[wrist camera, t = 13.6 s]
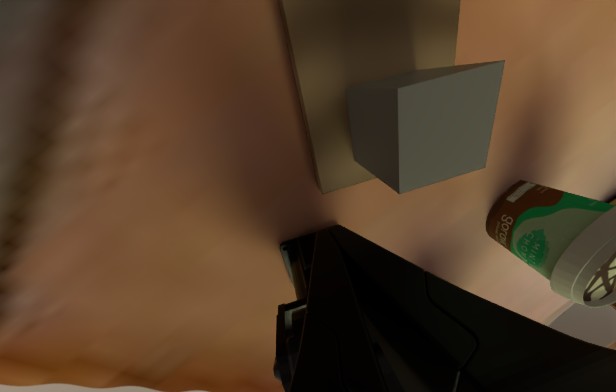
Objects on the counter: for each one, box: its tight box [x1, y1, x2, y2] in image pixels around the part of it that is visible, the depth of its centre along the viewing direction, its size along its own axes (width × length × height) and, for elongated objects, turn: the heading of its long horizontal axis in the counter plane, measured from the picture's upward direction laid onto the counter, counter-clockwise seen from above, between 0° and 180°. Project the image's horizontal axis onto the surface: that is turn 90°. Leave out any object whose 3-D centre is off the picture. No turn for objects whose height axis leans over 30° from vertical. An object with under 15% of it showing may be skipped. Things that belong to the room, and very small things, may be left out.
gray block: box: [346, 60, 505, 194], centre depth 14 cm, size 6×6×7 cm
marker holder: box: [278, 0, 460, 194], centre depth 13 cm, size 22×12×7 cm, turn 12°
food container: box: [486, 180, 616, 308], centre depth 24 cm, size 12×6×10 cm, turn 27°
